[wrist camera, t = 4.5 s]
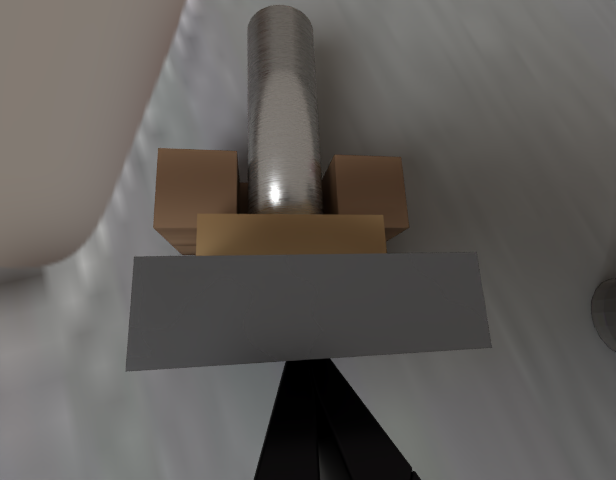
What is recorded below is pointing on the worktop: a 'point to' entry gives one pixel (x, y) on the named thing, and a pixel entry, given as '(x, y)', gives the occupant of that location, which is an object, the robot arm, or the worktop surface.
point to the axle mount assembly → (296, 268)
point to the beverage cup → (605, 312)
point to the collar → (289, 234)
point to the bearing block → (234, 195)
